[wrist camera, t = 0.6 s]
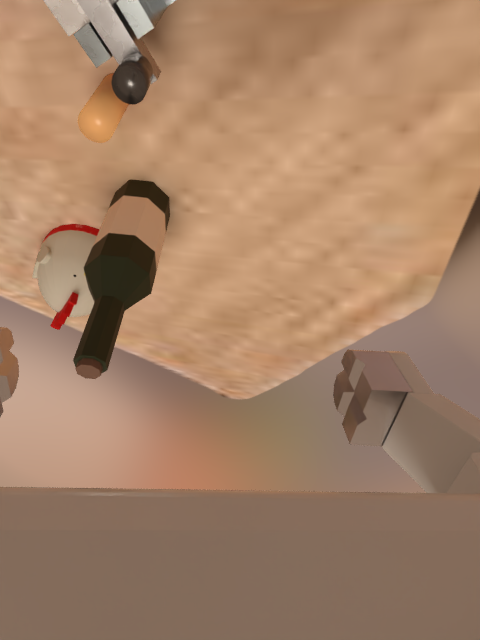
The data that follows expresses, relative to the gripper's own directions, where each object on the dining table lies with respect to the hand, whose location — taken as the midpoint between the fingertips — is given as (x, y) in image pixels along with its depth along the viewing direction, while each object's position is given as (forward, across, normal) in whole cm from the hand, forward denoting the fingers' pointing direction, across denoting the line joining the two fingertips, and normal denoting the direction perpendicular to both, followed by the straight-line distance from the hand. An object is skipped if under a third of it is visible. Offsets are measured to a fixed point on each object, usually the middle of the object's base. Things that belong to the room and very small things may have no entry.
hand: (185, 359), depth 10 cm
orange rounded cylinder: (+49, +10, -1) cm, 50 cm away
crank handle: (+39, +9, -9) cm, 41 cm away
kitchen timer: (+57, +17, +26) cm, 65 cm away
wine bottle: (+54, +7, +14) cm, 56 cm away
